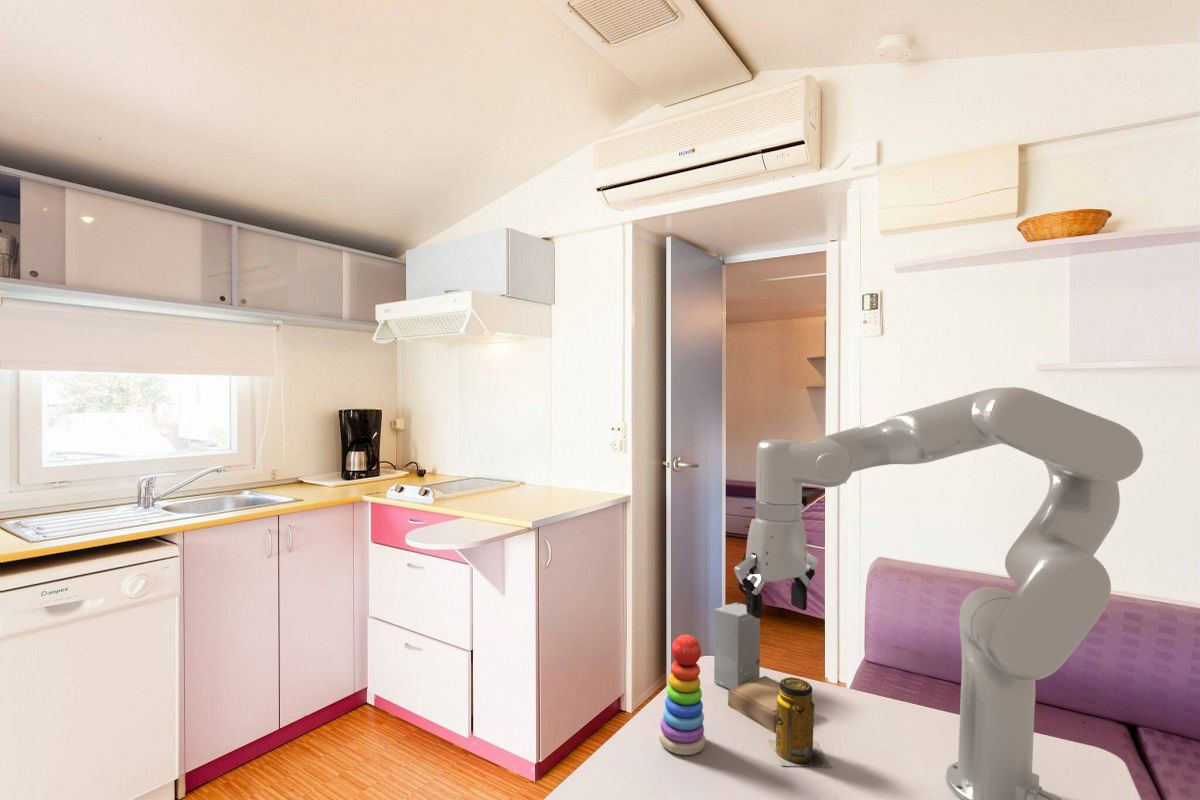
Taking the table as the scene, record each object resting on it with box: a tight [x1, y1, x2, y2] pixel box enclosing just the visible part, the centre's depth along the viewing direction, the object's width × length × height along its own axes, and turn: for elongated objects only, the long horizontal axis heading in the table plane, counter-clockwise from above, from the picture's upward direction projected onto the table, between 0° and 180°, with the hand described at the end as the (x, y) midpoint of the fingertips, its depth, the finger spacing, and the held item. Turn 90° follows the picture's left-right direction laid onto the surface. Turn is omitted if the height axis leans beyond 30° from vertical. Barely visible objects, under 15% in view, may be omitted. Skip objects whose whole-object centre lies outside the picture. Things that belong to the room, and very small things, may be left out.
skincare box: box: [713, 602, 761, 690], centre depth 125 cm, size 8×7×16 cm
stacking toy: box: [658, 634, 706, 756], centre depth 103 cm, size 8×8×19 cm
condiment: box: [768, 676, 833, 768], centre depth 101 cm, size 7×8×12 cm
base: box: [727, 675, 780, 733], centre depth 115 cm, size 11×11×3 cm
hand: (776, 611), depth 101 cm, fingers open, 9 cm apart
